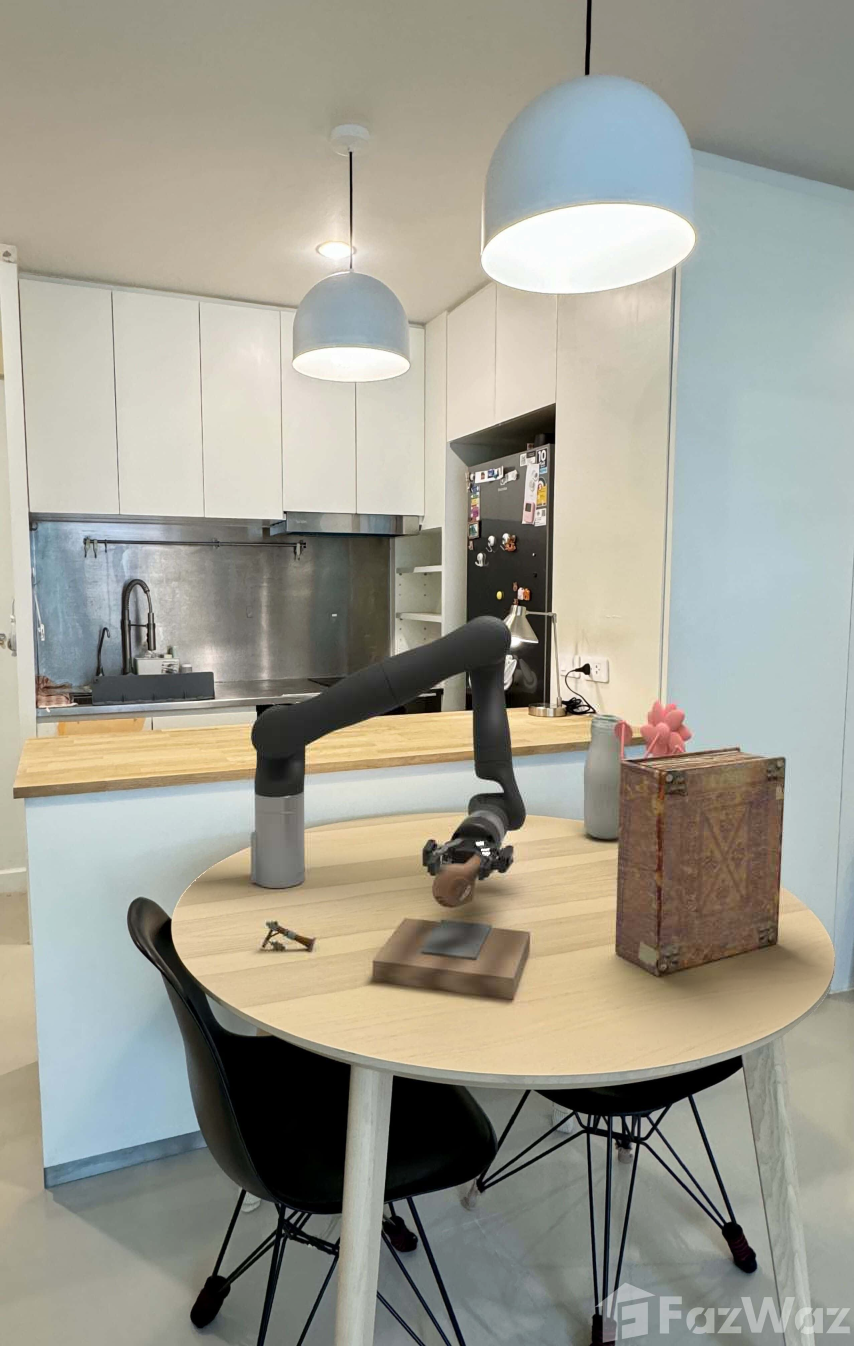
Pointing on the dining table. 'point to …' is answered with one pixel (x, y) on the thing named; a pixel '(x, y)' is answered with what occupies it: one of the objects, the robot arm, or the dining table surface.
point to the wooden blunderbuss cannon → (289, 934)
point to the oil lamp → (456, 882)
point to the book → (698, 857)
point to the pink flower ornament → (658, 731)
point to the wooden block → (454, 957)
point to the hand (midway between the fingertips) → (456, 871)
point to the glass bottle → (603, 779)
